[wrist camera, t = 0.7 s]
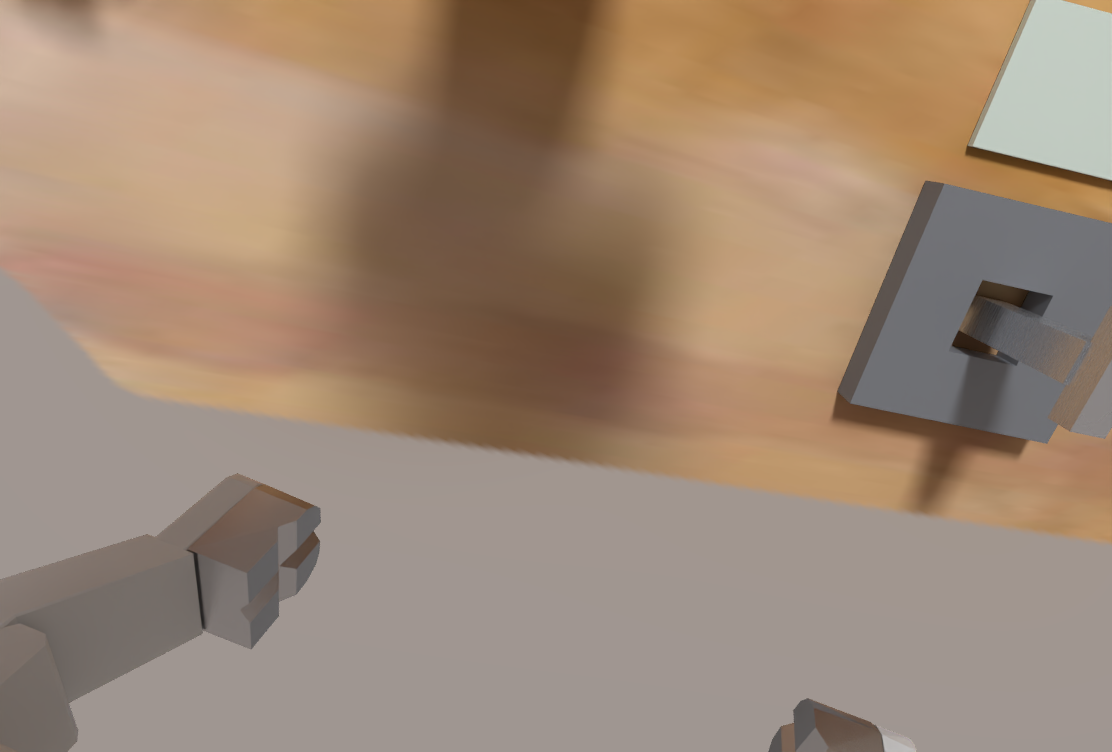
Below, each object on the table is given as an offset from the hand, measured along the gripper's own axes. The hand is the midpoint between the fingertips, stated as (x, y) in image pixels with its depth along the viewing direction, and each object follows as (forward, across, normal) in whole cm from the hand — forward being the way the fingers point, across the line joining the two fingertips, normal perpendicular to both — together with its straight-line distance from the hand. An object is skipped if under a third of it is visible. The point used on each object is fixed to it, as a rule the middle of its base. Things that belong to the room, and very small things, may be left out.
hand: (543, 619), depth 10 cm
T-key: (+49, -25, +7) cm, 56 cm away
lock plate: (+49, -25, +7) cm, 56 cm away
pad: (+52, -24, -10) cm, 58 cm away
